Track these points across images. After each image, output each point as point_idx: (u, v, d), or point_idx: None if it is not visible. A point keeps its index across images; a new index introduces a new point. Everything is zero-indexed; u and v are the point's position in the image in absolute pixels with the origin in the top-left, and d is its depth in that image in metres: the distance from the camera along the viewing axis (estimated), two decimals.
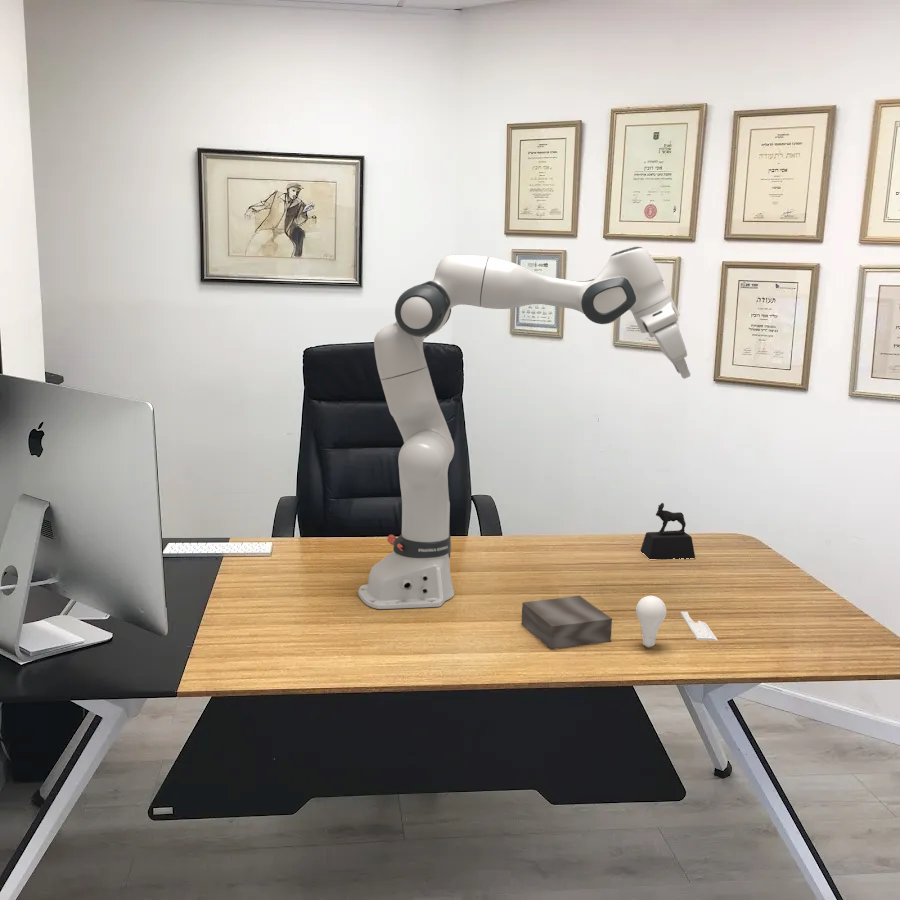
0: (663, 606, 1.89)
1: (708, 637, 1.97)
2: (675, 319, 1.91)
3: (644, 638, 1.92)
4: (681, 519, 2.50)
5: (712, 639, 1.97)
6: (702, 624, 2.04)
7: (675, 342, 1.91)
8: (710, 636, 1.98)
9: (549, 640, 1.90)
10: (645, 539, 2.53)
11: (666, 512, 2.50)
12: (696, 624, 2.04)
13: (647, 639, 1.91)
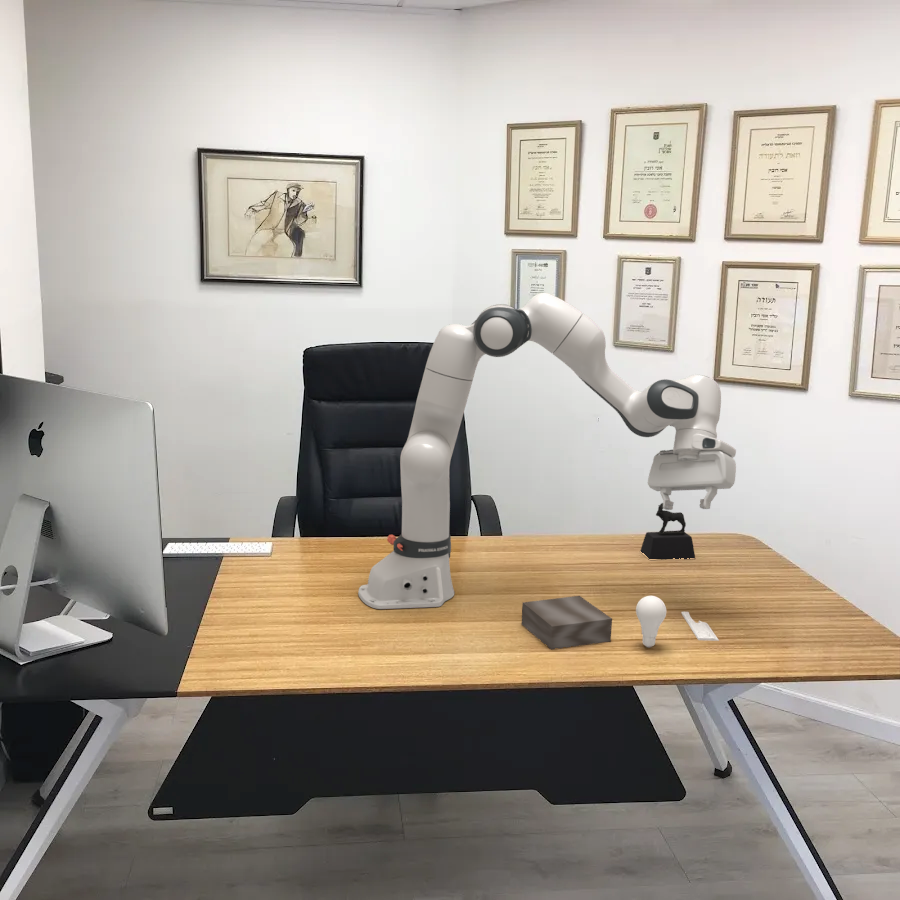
0: (663, 606, 1.89)
1: (709, 637, 1.97)
2: (734, 455, 1.99)
3: (644, 638, 1.92)
4: (681, 519, 2.50)
5: (713, 639, 1.97)
6: (703, 624, 2.04)
7: (732, 470, 1.95)
8: (711, 636, 1.98)
9: (549, 640, 1.90)
10: (645, 539, 2.53)
11: (666, 512, 2.50)
12: (697, 624, 2.04)
13: (646, 639, 1.91)
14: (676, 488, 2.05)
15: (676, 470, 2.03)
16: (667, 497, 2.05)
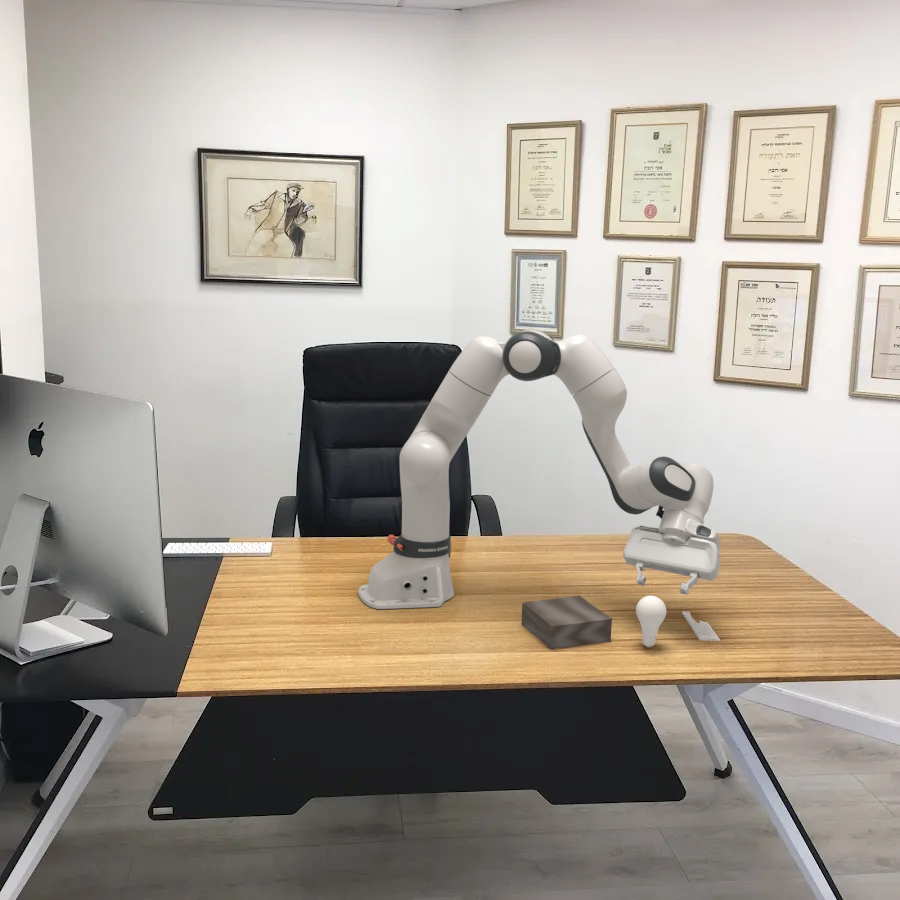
0: (663, 606, 1.89)
1: (710, 637, 1.97)
2: (718, 550, 1.99)
3: (644, 638, 1.92)
4: None
5: (714, 639, 1.97)
6: (704, 624, 2.04)
7: (718, 564, 1.95)
8: (712, 636, 1.98)
9: (549, 640, 1.90)
10: None
11: None
12: (698, 624, 2.04)
13: (647, 639, 1.91)
14: (651, 566, 2.01)
15: (659, 548, 1.99)
16: None
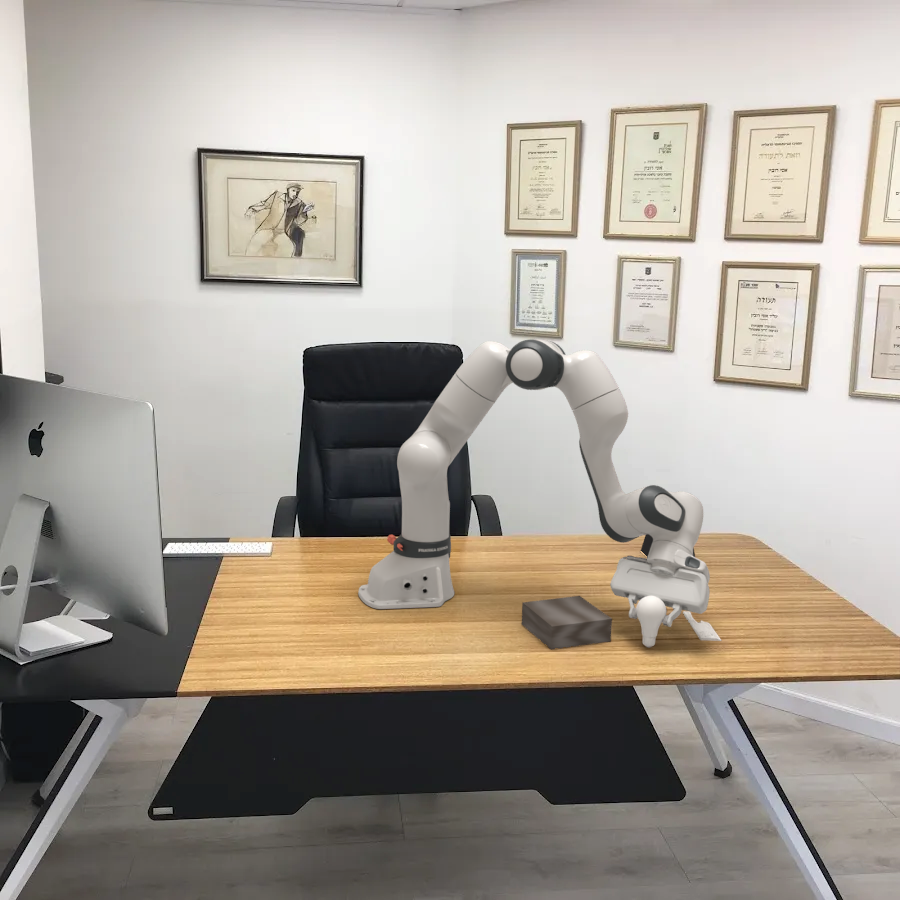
0: (663, 606, 1.89)
1: (711, 637, 1.97)
2: (707, 582, 1.94)
3: (644, 638, 1.92)
4: None
5: (715, 639, 1.97)
6: (705, 624, 2.04)
7: (708, 596, 1.90)
8: (713, 636, 1.98)
9: (549, 640, 1.90)
10: (645, 539, 2.53)
11: None
12: (699, 624, 2.04)
13: (646, 639, 1.91)
14: None
15: (647, 579, 1.95)
16: (633, 605, 1.94)
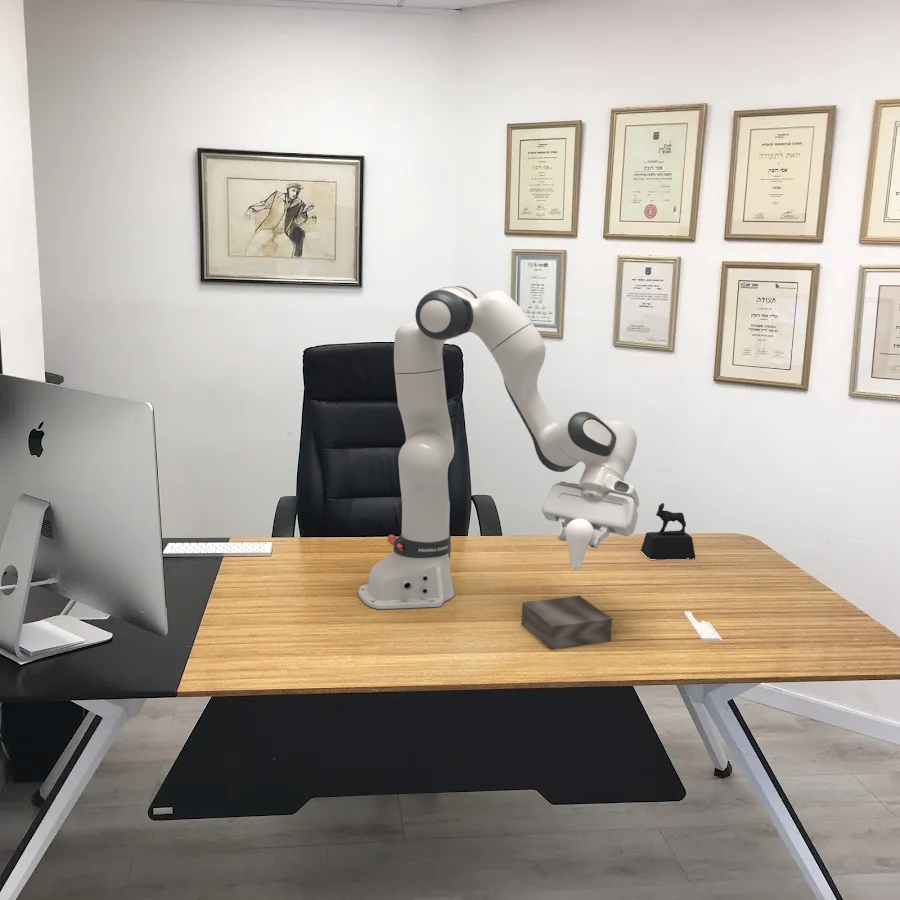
0: (591, 529, 1.92)
1: (713, 637, 1.97)
2: (637, 507, 1.97)
3: (571, 560, 1.94)
4: (681, 519, 2.50)
5: (717, 639, 1.97)
6: (706, 624, 2.04)
7: (635, 520, 1.93)
8: (715, 636, 1.98)
9: (549, 640, 1.90)
10: (645, 539, 2.53)
11: (666, 512, 2.50)
12: (700, 624, 2.04)
13: (573, 561, 1.94)
14: None
15: (577, 503, 1.97)
16: (563, 528, 1.97)
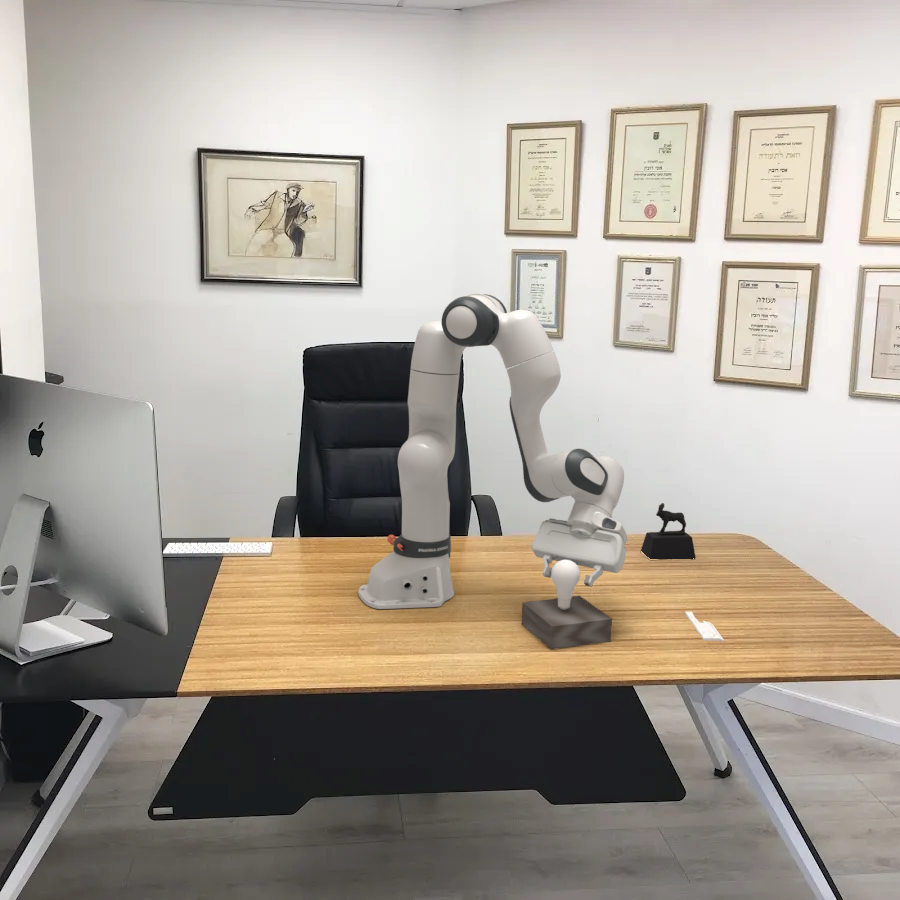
0: (576, 569, 1.95)
1: (714, 637, 1.97)
2: (625, 543, 1.99)
3: (559, 601, 1.97)
4: (681, 519, 2.50)
5: (718, 639, 1.97)
6: (707, 624, 2.04)
7: (623, 556, 1.95)
8: (716, 636, 1.98)
9: (549, 640, 1.90)
10: (645, 539, 2.53)
11: (666, 512, 2.50)
12: (701, 624, 2.04)
13: (561, 601, 1.97)
14: (558, 559, 2.01)
15: (566, 540, 2.00)
16: (548, 564, 2.00)
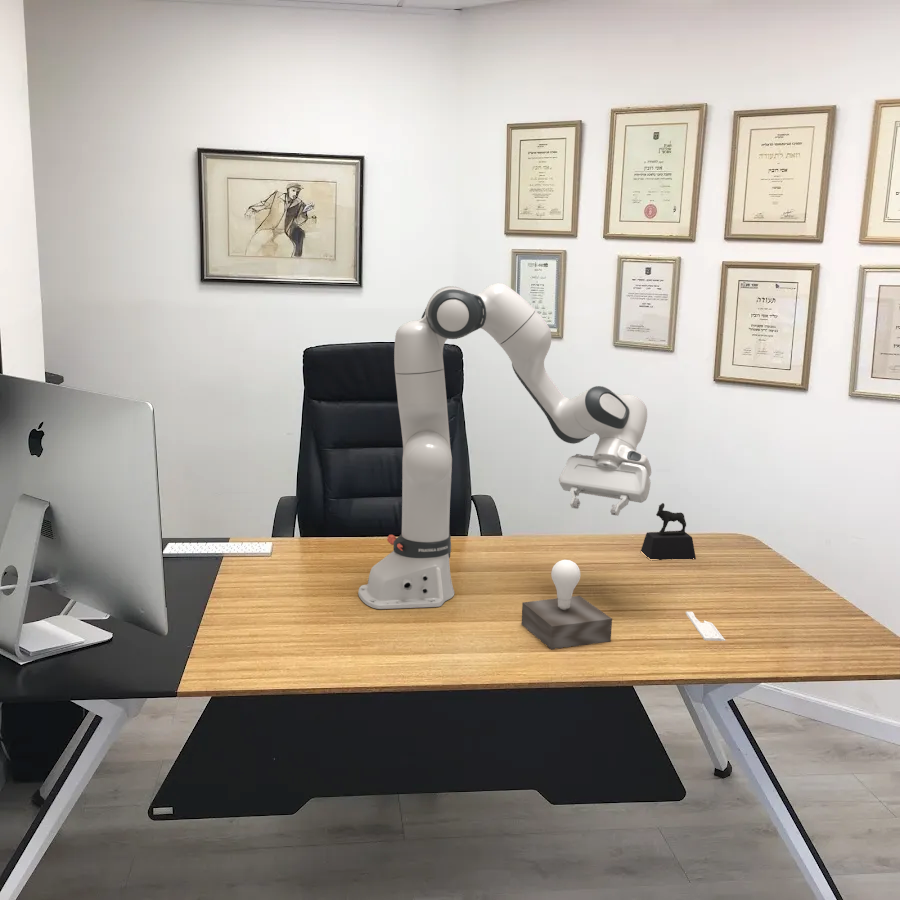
0: (576, 570, 1.95)
1: (715, 637, 1.97)
2: (649, 475, 2.08)
3: (559, 601, 1.97)
4: (682, 519, 2.50)
5: (719, 639, 1.97)
6: (708, 624, 2.04)
7: (648, 487, 2.03)
8: (717, 636, 1.98)
9: (549, 640, 1.90)
10: (645, 539, 2.53)
11: (666, 512, 2.50)
12: (702, 624, 2.04)
13: (561, 601, 1.97)
14: (585, 491, 2.09)
15: (593, 473, 2.08)
16: (575, 496, 2.08)
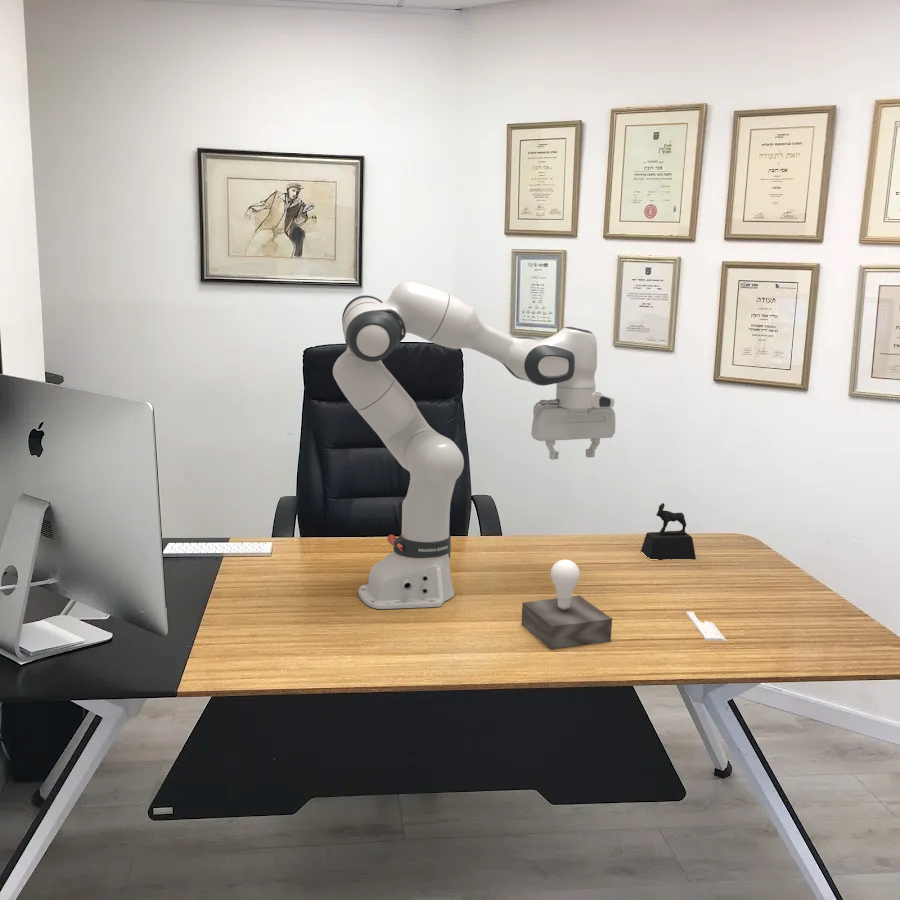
0: (575, 569, 1.95)
1: (716, 637, 1.97)
2: None
3: (558, 601, 1.97)
4: (682, 519, 2.50)
5: (720, 639, 1.97)
6: (709, 624, 2.04)
7: None
8: (718, 636, 1.98)
9: (549, 640, 1.90)
10: (646, 539, 2.53)
11: (667, 512, 2.50)
12: (703, 624, 2.04)
13: (560, 601, 1.97)
14: None
15: (567, 424, 2.11)
16: None
